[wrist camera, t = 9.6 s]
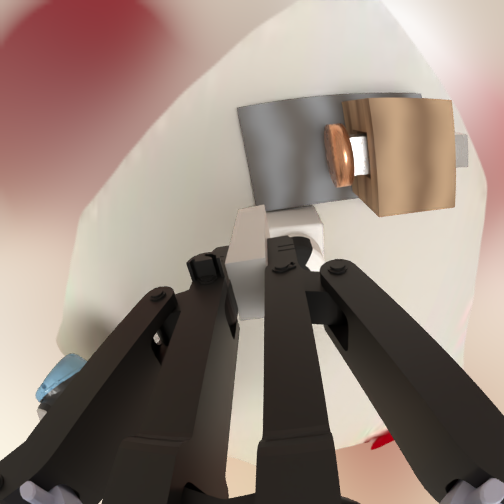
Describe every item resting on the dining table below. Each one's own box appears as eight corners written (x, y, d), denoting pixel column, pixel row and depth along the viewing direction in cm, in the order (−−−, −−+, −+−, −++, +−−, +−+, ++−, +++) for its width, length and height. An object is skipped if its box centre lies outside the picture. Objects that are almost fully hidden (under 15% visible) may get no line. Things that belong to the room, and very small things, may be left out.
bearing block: (257, 209, 40) (255, 244, 29) (237, 108, 34) (226, 104, 23) (423, 187, 37) (466, 213, 26) (416, 94, 31) (463, 92, 20)
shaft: (328, 179, 34) (343, 195, 28) (321, 123, 31) (334, 125, 25) (445, 169, 32) (474, 181, 25) (442, 119, 29) (473, 123, 22)
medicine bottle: (268, 255, 43) (268, 305, 32) (262, 209, 40) (261, 247, 29) (316, 251, 42) (332, 298, 31) (314, 204, 39) (332, 240, 28)
